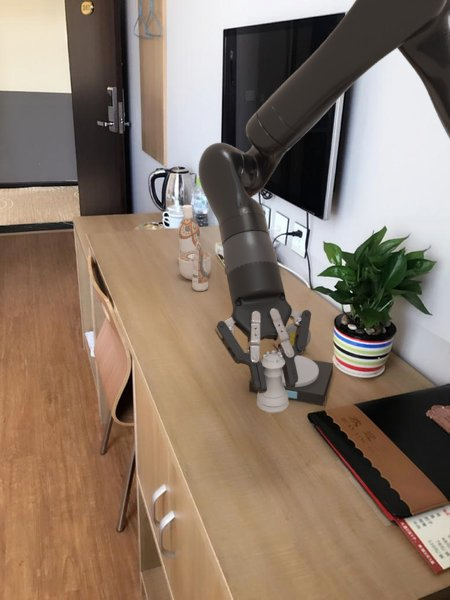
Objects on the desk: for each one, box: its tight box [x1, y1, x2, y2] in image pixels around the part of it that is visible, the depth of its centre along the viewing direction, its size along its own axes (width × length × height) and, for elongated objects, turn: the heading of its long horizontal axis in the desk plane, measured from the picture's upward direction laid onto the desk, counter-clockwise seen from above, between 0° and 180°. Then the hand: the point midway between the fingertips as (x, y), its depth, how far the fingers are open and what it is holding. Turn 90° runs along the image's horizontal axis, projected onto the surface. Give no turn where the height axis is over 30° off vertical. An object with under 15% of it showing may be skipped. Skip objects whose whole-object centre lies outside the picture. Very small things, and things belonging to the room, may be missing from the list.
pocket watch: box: [275, 318, 312, 349], centre depth 107 cm, size 8×8×10 cm
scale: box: [248, 352, 334, 406], centre depth 97 cm, size 14×11×3 cm
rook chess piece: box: [256, 350, 290, 414], centre depth 68 cm, size 4×4×8 cm
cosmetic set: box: [177, 204, 212, 292], centre depth 143 cm, size 25×9×19 cm, turn 12°
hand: (277, 389), depth 66 cm, fingers closed on rook chess piece, 3 cm apart
